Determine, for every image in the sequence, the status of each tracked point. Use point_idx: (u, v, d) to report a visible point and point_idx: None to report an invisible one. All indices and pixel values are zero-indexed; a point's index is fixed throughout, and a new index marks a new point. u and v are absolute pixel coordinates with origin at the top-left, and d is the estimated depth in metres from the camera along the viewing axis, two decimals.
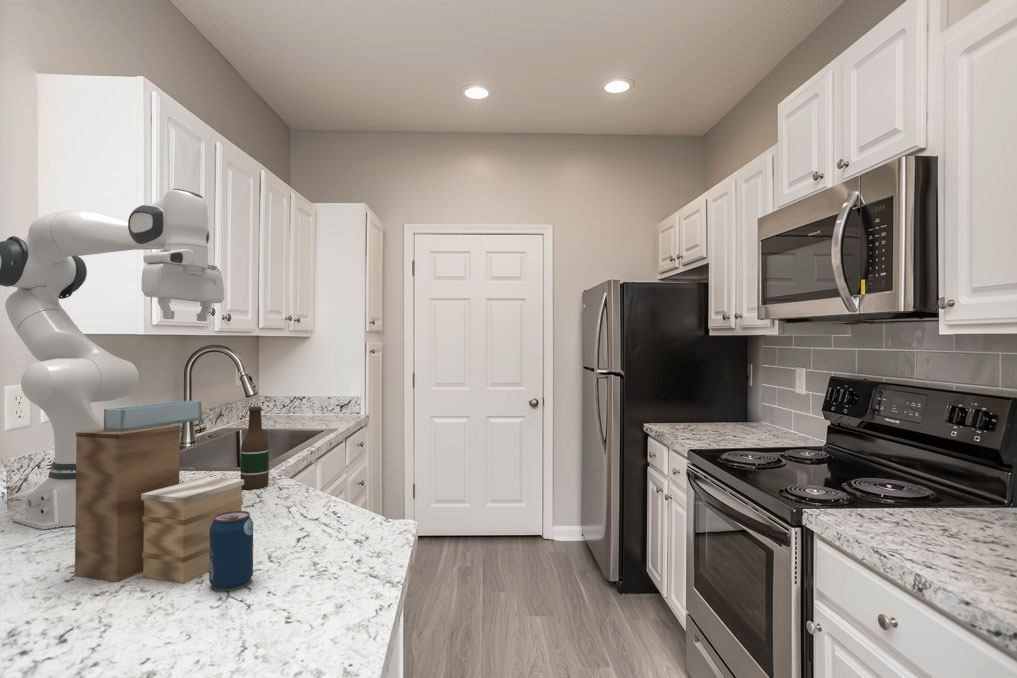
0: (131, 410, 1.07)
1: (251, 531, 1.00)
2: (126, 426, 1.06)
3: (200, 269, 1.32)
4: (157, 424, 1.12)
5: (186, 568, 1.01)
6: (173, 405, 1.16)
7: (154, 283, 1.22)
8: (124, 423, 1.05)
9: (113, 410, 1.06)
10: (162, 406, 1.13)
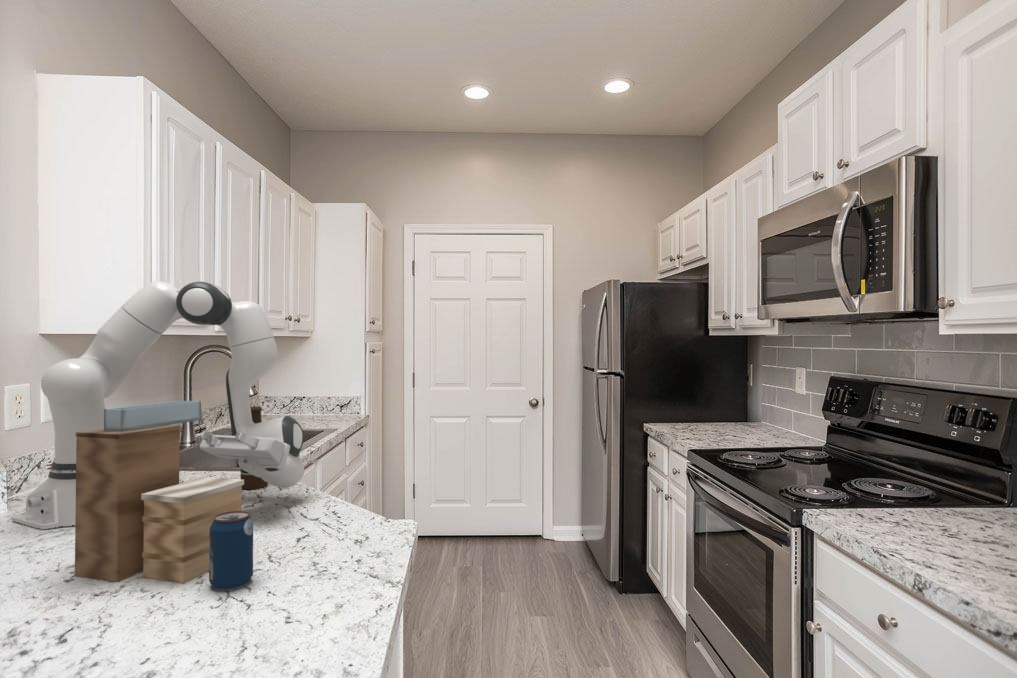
0: (131, 410, 1.07)
1: (251, 531, 1.00)
2: (126, 426, 1.06)
3: (244, 464, 1.39)
4: (157, 424, 1.12)
5: (186, 568, 1.01)
6: (173, 405, 1.16)
7: (273, 455, 1.33)
8: (124, 423, 1.05)
9: (113, 410, 1.06)
10: (162, 406, 1.13)
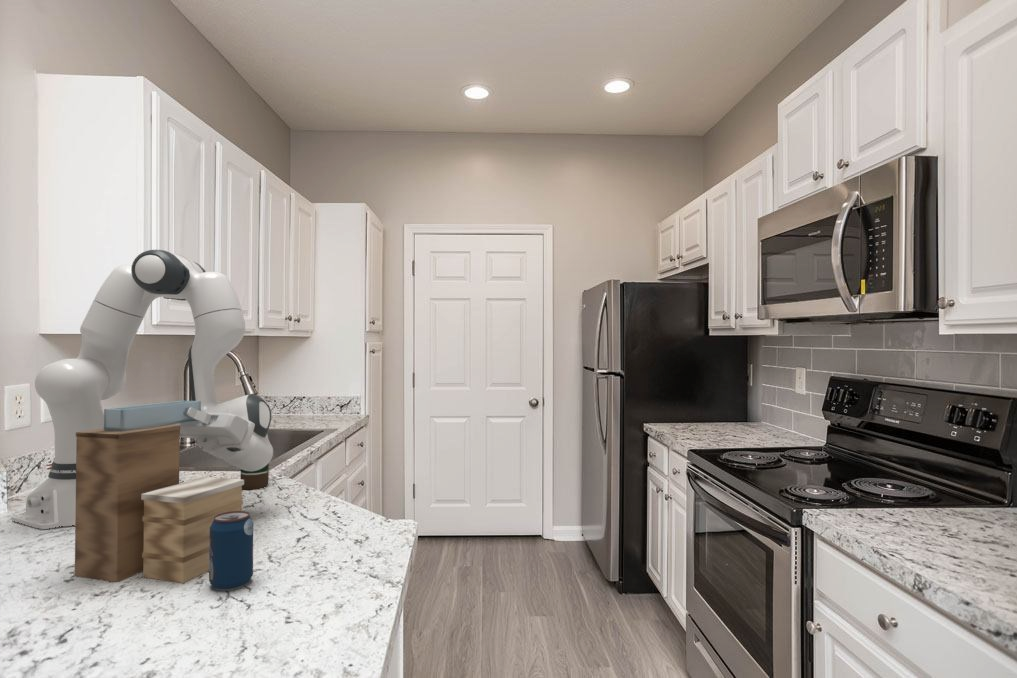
0: (131, 410, 1.07)
1: (251, 531, 1.00)
2: (126, 426, 1.06)
3: (204, 443, 1.27)
4: (157, 424, 1.12)
5: (186, 568, 1.01)
6: (173, 405, 1.16)
7: (234, 433, 1.21)
8: (124, 423, 1.05)
9: (113, 410, 1.06)
10: (162, 406, 1.13)
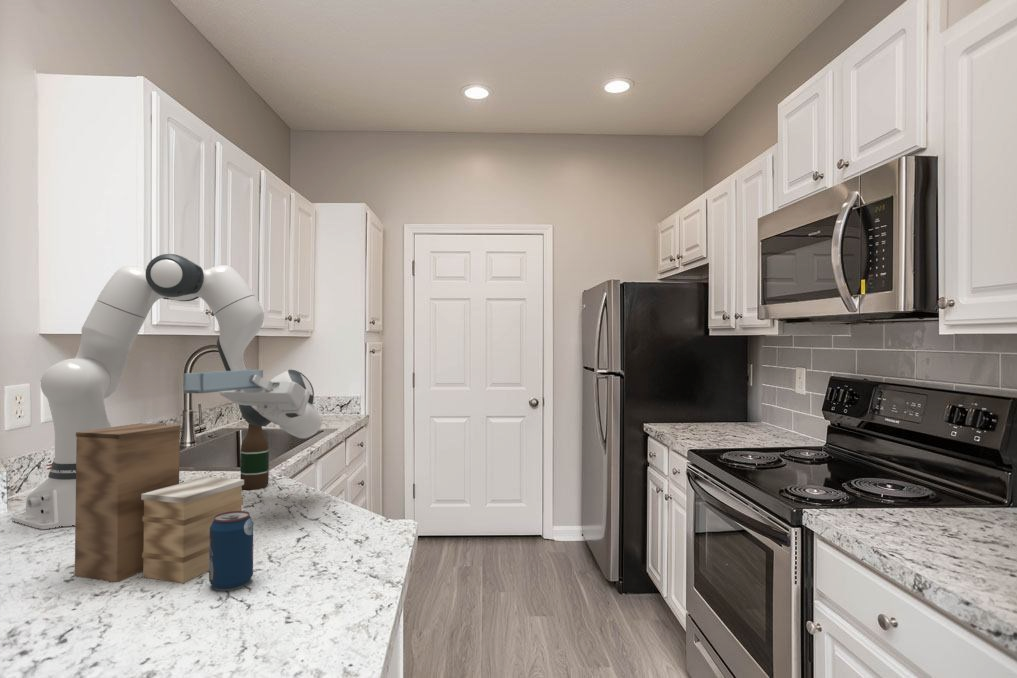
0: (208, 374, 1.17)
1: (251, 531, 1.00)
2: (204, 389, 1.16)
3: (264, 410, 1.38)
4: (228, 388, 1.23)
5: (186, 568, 1.01)
6: (241, 372, 1.26)
7: (294, 398, 1.32)
8: (202, 386, 1.16)
9: (192, 374, 1.16)
10: (232, 372, 1.24)
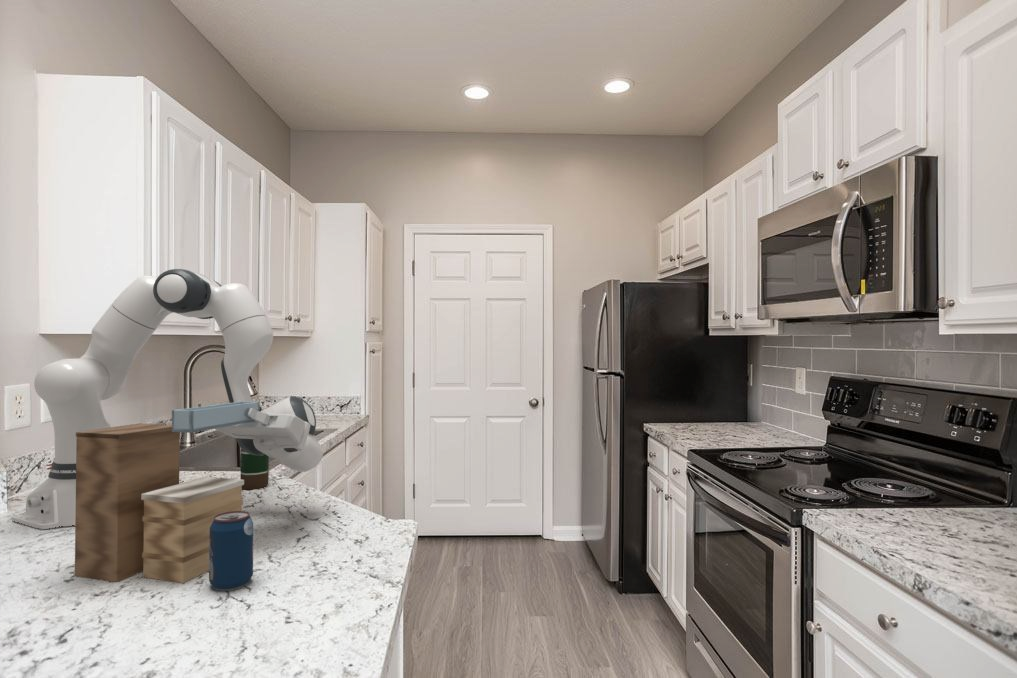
0: (198, 411, 1.07)
1: (251, 531, 1.00)
2: (194, 428, 1.06)
3: (260, 444, 1.27)
4: (221, 425, 1.12)
5: (186, 568, 1.01)
6: (235, 406, 1.16)
7: (293, 433, 1.21)
8: (192, 425, 1.05)
9: (181, 411, 1.06)
10: (226, 407, 1.13)
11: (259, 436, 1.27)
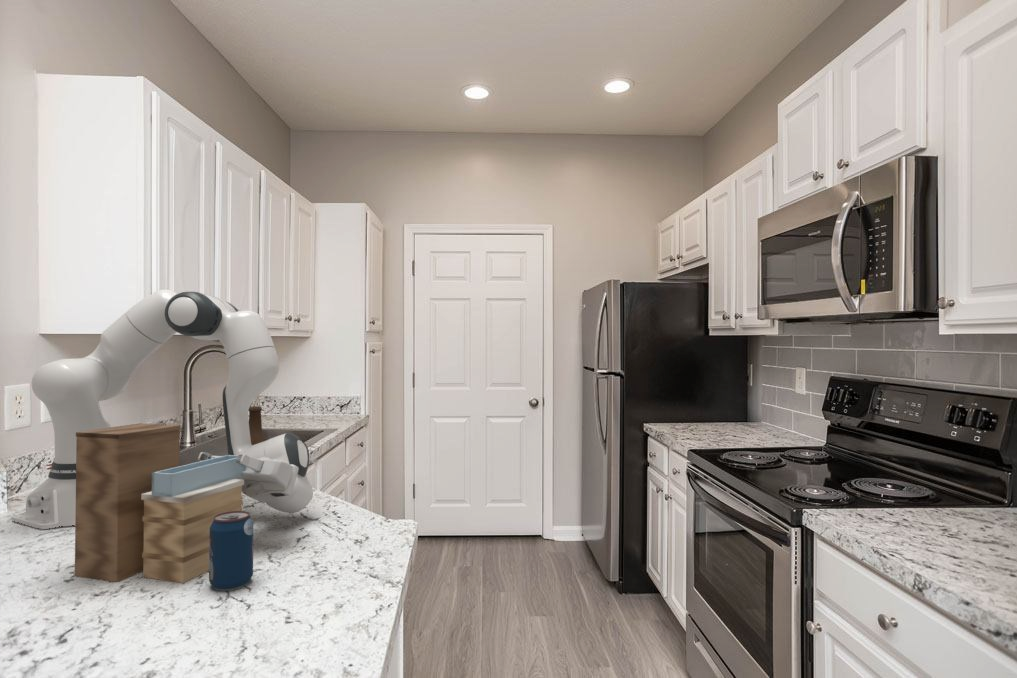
0: (180, 474, 1.03)
1: (251, 531, 1.00)
2: (175, 491, 1.02)
3: (246, 488, 1.23)
4: (204, 485, 1.08)
5: (186, 568, 1.01)
6: (219, 463, 1.12)
7: (280, 480, 1.17)
8: (173, 488, 1.01)
9: (161, 474, 1.02)
10: (209, 466, 1.09)
11: (245, 480, 1.23)
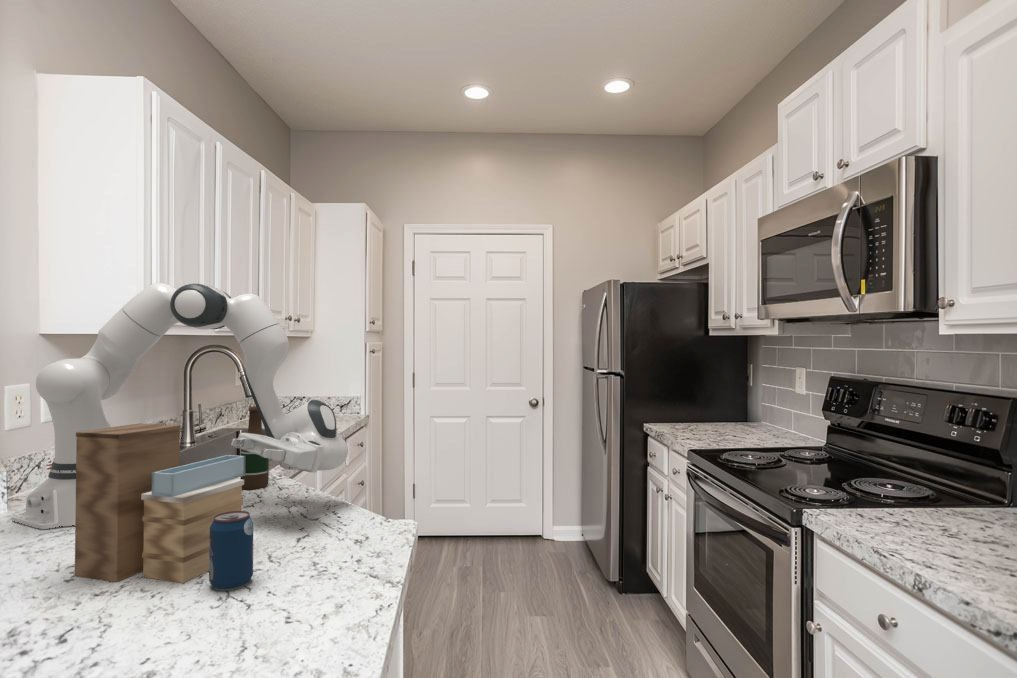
0: (180, 474, 1.03)
1: (251, 531, 1.00)
2: (175, 491, 1.02)
3: None
4: (204, 485, 1.08)
5: (186, 568, 1.01)
6: (219, 463, 1.12)
7: (302, 467, 1.28)
8: (173, 488, 1.01)
9: (161, 474, 1.02)
10: (209, 466, 1.09)
11: None
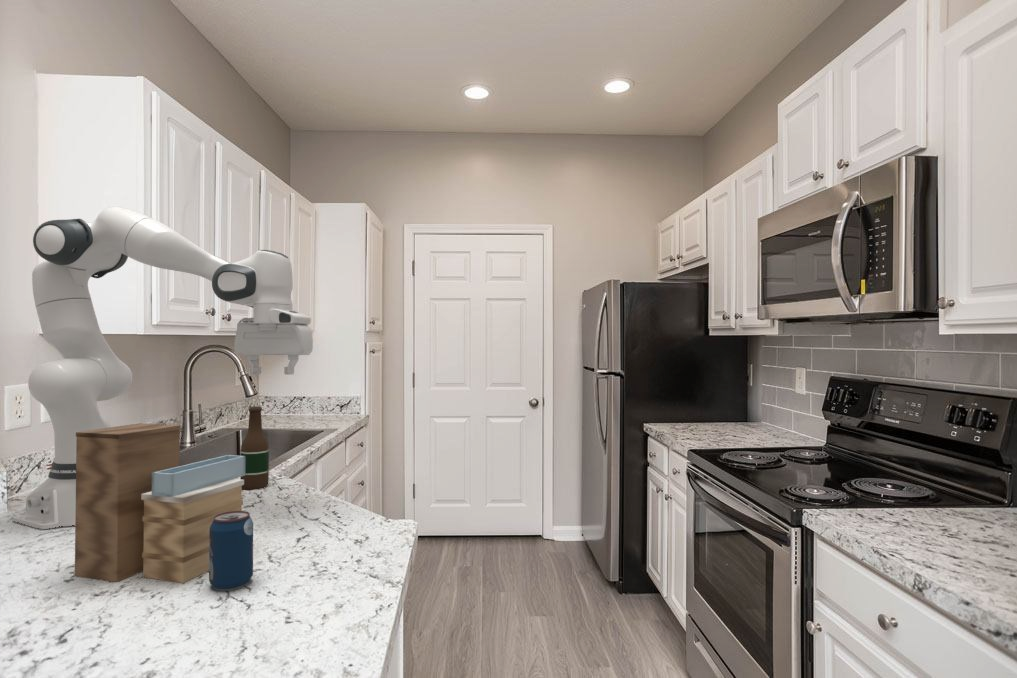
0: (180, 474, 1.03)
1: (251, 531, 1.00)
2: (175, 491, 1.02)
3: None
4: (204, 485, 1.08)
5: (186, 568, 1.01)
6: (219, 463, 1.12)
7: (312, 344, 1.38)
8: (173, 488, 1.01)
9: (161, 474, 1.02)
10: (209, 466, 1.09)
11: None
